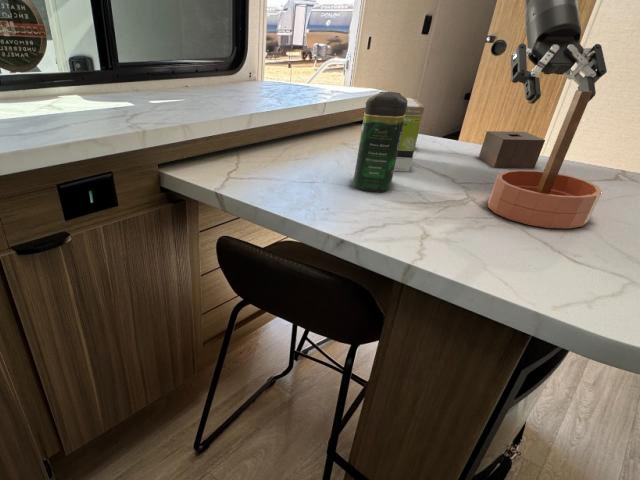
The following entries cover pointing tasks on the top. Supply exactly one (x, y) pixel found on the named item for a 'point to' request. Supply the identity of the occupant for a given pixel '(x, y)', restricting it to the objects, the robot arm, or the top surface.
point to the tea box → (409, 135)
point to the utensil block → (511, 149)
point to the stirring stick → (563, 140)
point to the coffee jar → (379, 141)
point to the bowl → (543, 199)
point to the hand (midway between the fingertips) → (560, 101)
